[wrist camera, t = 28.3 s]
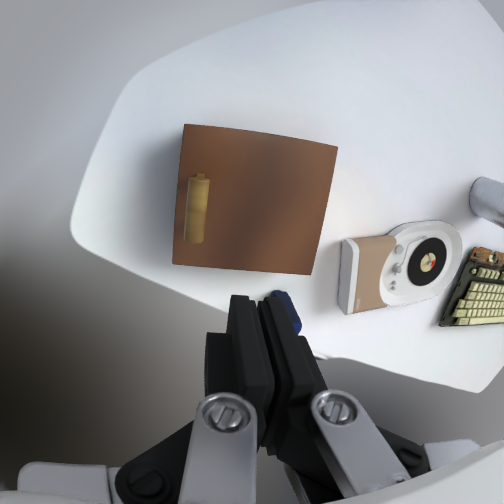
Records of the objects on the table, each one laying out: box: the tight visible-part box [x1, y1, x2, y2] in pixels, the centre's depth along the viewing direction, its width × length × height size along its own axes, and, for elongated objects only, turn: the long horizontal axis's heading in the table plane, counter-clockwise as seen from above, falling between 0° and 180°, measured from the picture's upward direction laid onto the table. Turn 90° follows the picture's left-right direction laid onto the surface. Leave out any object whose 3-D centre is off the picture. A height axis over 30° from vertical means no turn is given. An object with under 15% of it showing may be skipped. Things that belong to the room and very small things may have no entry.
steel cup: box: [470, 177, 504, 228], centre depth 32 cm, size 6×6×8 cm
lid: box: [172, 124, 338, 275], centre depth 26 cm, size 14×13×5 cm
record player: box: [338, 221, 462, 315], centre depth 36 cm, size 12×3×20 cm
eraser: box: [271, 290, 302, 336], centre depth 34 cm, size 2×2×7 cm
